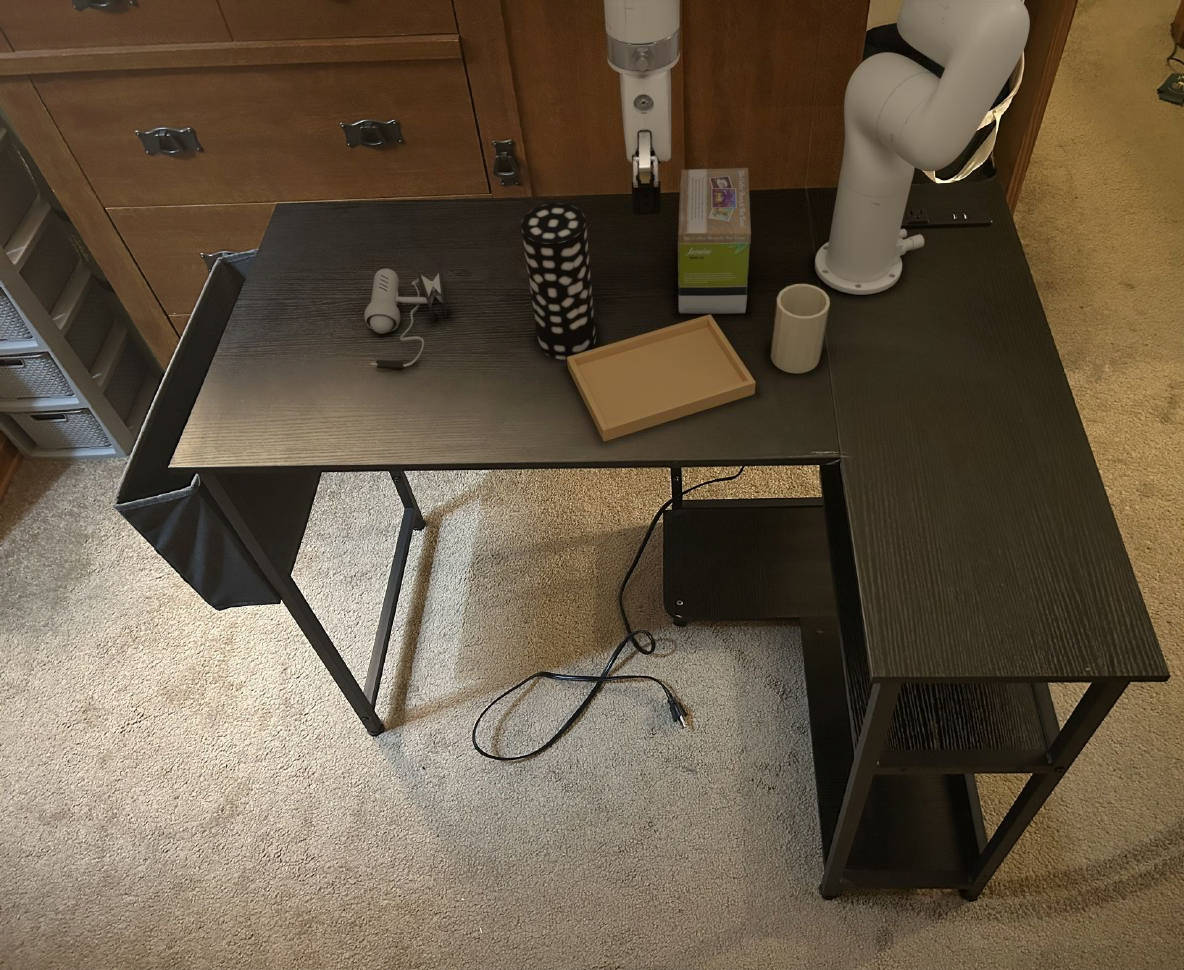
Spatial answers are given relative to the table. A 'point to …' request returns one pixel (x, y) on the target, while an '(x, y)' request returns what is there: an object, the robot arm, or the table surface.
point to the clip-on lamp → (386, 313)
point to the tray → (659, 377)
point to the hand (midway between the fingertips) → (647, 187)
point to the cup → (799, 328)
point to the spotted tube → (559, 279)
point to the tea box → (713, 241)
